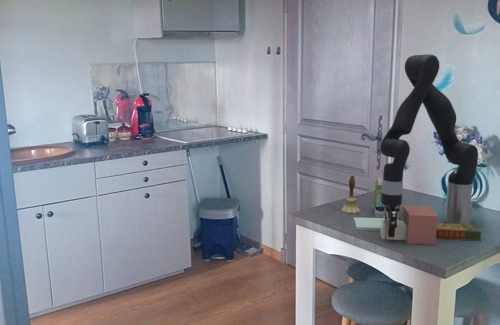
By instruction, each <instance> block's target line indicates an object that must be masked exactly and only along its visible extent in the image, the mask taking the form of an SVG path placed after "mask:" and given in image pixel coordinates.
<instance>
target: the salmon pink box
mask: <svg viewBox="0 0 500 325" xmlns="http://www.w3.org/2000/svg"><path fill="white" fill-rule="evenodd" d="M401 213H402V214H401V215H402V216H401V221H406V222H407V231H406V240H405V242H406V244H408V245H430V246H432V245H436V243H437V242H436V241H437V239H436V231H437V223H438V221H439V220H438V218H439V216H438V214H437V213H436V212H435V211H434V209H432V207H431V206H429V205H406V204H405V205H402V212H401Z"/></svg>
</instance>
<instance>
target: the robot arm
mask: <svg viewBox="0 0 500 325" xmlns="http://www.w3.org/2000/svg"><path fill="white" fill-rule="evenodd" d="M404 71H405V75H406V77H407V78H408V80H409V82H410V83H411V84H412V87H413V89H412V90H411V91H410V93H409V94H408V95H407V96H406V98H405V99H404V100H403V101H402V102H401V104H400V105H399V107H398V109H397V111H396V114H395V117H394V120H393V123H392V124H391V126H390V128H389V130H388V131H387V133H386V134H385V135H384V137H383V139H382V141H381V143H380V146H379V147H380V148H379V149H380V153H381V154H382V155H383V156H385V157H389V158H393V161H392V162H390V163H389V162H388V163H386V164H384V166H383V173H382V174H383V175H382V176H383V177H382V178H383V182H382V192H381V203H382V204H383V205H384V216H385V217H384V219H386V220H387V222H388V226H389V228H388V236H389V237H394V235H395V228H397V214H398V213H397V210H396V208H395V207H396V206H400V207H401V206H402V203H403V190H404V189H403V188H404V184H403V180H404V170H405V167H406V164H407V161H408V159H409V156H410V152H411V148H410V144H409V143H408V141H406V140H404V139H400V138H401V137H402V136H405V135H410V134H411V132H412V130H413V127H414V124H415V121H416V119H417V117H418V116H417V115H418V113H419V111H420V108H421V106H422V105H423V107H424V109H425V110H426V112H427V116H428V117H429V119H430V121H431V123H432V125H433V127H434V129H435V131H436V133H437V135H438V138H439V141H440V143H441V146H442V149H443V151H444V155H445V158H446V159H447V161H448V162H449V163H451V164H452V165H456V166H458V167H457V168H458V169H457V172H451V173H450V174H448V176H447V177H448V179H447V180H448V181H447V191H446V201H445V214H444V222H445V223H447V224H469V225H471V222H472V221H471V220H472V211H473V202H472V194H473V193H472V192H473V186H474V185H473V183H474V179H475V177H476V173H477V166H478V161H479V160H478V159H479V151H478V148H477V147H476V145H475V144H469V143H465V142H462V141H460V139H459V138H458V136H457V133H456V131H455V127H456V124H457V114H456V111H455V108H454V106H453V104H452V102H451V100H450V99H449V98H448V96H446V95H445V94H444V93H443V92H442V91H441V90H439V88H437V87H436V86H435V85H434V84H433V83H434V81H435V80H436V78H437V76H438V74H439V71H440V61H439V59H438V57H437V56H436V55H435V54H430V53H429V54H415V55H410V56H409V57H407V59H406V60H405V63H404ZM391 222H394V224H391Z"/></svg>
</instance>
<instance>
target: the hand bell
mask: <svg viewBox="0 0 500 325" xmlns="http://www.w3.org/2000/svg"><path fill="white" fill-rule="evenodd" d="M355 186H356V178H355V175H350V177H349V180H348V187H349V196H348V197H347V198H346V199H345V202H344V205H343V207H341V209H340V210H341V212H342V213H346V214H358V213H360V212H361V210H360V207H358V205H357V199H356V198H355V197H354V189H355Z"/></svg>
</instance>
